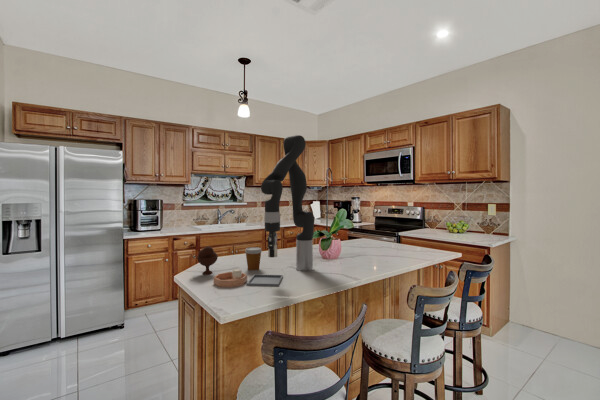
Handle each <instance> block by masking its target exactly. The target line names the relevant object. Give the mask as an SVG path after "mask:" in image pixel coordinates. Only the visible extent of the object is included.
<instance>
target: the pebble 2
mask: <svg viewBox="0 0 600 400" xmlns="http://www.w3.org/2000/svg"><path fill="white" fill-rule="evenodd" d="M270 246H272V245H270ZM274 248H275V249H274V257H270V250H269V249H268V248H267V249H268V251H267V252H268V253H267V254H268V256H267V257H268V258H278V244H277V245H274Z"/></svg>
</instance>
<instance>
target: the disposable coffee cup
mask: <svg viewBox="0 0 600 400" xmlns="http://www.w3.org/2000/svg"><path fill="white" fill-rule="evenodd" d="M262 251H263V250H262V248H261V247H255V246H253V247H252V246H251V247H246V248H245V250H244V252H245V256H246V264H247V266H246V267H247V270H248V271H259V270H260V264H261V257H262V256H261V254H262Z"/></svg>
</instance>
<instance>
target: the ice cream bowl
mask: <svg viewBox="0 0 600 400" xmlns="http://www.w3.org/2000/svg"><path fill="white" fill-rule="evenodd" d="M218 257H219V256H218V254H217V252H215V251H214V248H213V247H212V246H210V245H209V246H204V247H203V248H202V249H200V250H199V251H198V254H197V257H196V259H197V262H198V263H199V264H200V265H201V266H202V267H205V270H204V271H202V275H204V276H208V275H212V274H213V270H210V267H211V266H212V265H214V264H215V263H216V262H217V260H218Z"/></svg>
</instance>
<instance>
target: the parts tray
mask: <svg viewBox="0 0 600 400" xmlns="http://www.w3.org/2000/svg"><path fill="white" fill-rule="evenodd" d="M283 277H284V275H283V274H260V273H259V274H258V273H257V274H253V275H252V276H251V277H250V279H249V280H247V281H246V282H245V284H246V286H253V287H255V286H258V287H279V286H280V283H281V282H282V279H283Z"/></svg>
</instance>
